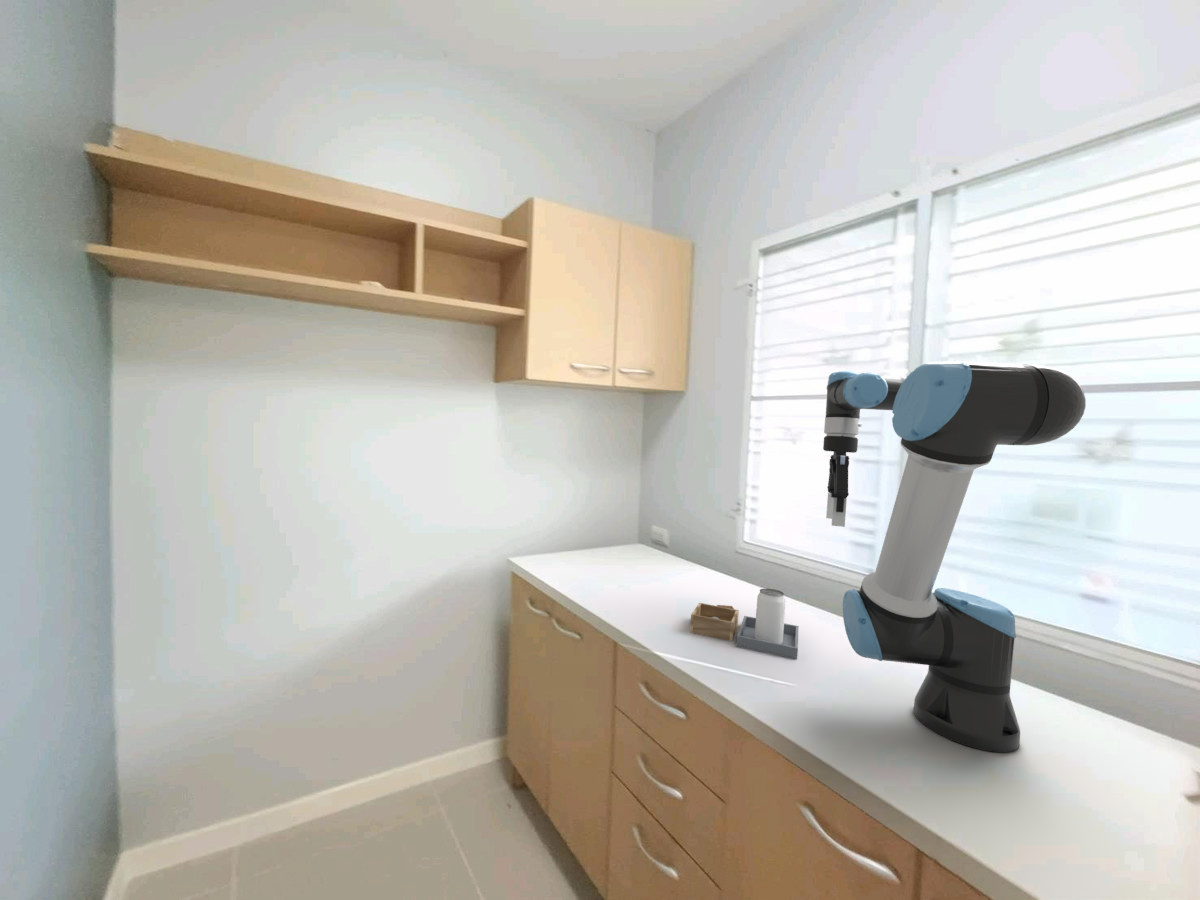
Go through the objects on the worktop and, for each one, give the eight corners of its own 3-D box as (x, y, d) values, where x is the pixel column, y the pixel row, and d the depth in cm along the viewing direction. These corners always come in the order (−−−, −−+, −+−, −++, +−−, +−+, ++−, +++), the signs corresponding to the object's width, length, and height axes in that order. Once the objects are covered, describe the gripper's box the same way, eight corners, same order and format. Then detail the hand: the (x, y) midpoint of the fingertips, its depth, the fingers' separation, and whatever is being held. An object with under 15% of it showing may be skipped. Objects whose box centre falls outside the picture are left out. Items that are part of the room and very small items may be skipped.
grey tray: (796, 661, 110) (797, 648, 110) (736, 648, 115) (737, 636, 115) (797, 637, 124) (798, 626, 124) (743, 627, 129) (744, 615, 129)
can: (786, 647, 116) (790, 597, 115) (759, 645, 116) (762, 595, 115) (777, 636, 122) (780, 588, 122) (751, 634, 122) (754, 586, 122)
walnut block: (734, 626, 129) (735, 611, 129) (719, 624, 130) (720, 609, 129) (731, 620, 133) (732, 605, 133) (716, 619, 134) (717, 604, 133)
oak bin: (731, 643, 117) (733, 622, 117) (689, 634, 121) (691, 614, 121) (737, 629, 127) (738, 610, 127) (698, 621, 131) (699, 602, 131)
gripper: (866, 434, 107) (859, 531, 107) (850, 438, 130) (845, 517, 131) (829, 433, 110) (822, 527, 110) (820, 436, 133) (814, 514, 133)
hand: (834, 522), depth 120 cm, fingers open, 13 cm apart
